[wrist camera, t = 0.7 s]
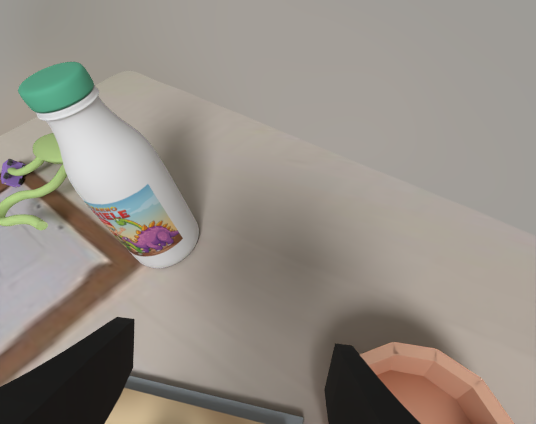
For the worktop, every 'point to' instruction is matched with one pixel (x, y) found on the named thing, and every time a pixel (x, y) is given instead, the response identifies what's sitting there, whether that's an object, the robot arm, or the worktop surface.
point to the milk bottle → (113, 167)
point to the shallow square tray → (212, 402)
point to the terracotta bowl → (434, 385)
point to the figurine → (14, 171)
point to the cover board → (165, 411)
